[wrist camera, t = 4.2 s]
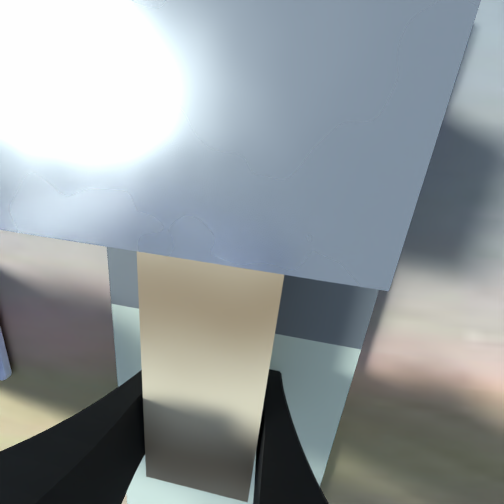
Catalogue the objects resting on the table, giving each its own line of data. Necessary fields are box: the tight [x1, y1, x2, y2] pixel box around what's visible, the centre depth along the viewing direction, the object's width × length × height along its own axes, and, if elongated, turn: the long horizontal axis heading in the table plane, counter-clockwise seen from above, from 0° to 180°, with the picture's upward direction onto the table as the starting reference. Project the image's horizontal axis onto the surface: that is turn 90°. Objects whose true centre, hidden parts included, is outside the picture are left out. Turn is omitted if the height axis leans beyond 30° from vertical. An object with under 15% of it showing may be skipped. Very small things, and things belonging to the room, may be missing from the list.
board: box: [107, 247, 379, 504], centre depth 12 cm, size 34×12×1 cm, turn 174°
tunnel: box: [0, 0, 481, 291], centre depth 7 cm, size 5×7×6 cm
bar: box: [137, 251, 284, 502], centre depth 9 cm, size 16×4×4 cm, turn 174°
